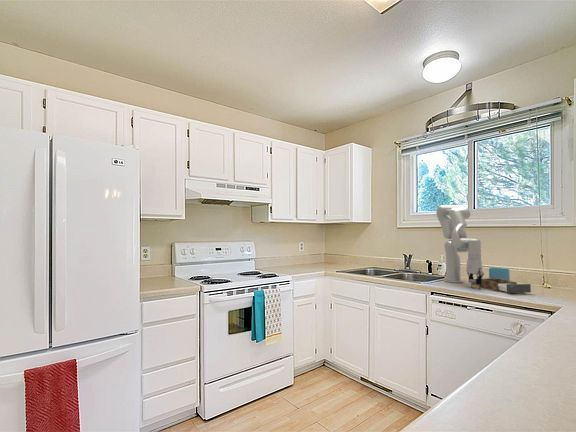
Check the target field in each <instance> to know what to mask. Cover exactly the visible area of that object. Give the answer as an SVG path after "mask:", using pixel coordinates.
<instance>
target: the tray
mask: <svg viewBox="0 0 576 432" xmlns="http://www.w3.org/2000/svg"><path fill="white" fill-rule="evenodd" d="M531 285H532V284H531V283H517V284H498V290H502V291H501V292H506V293H509V294H511V293H512V294H515V293H517V294H518V293H519V294H520V293H525V294H526V293H531V291H532V290H531V287H532V286H531Z"/></svg>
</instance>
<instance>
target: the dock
mask: <svg viewBox="0 0 576 432" xmlns="http://www.w3.org/2000/svg"><path fill="white" fill-rule="evenodd" d="M498 284H518V283H517V281H511V280H510V281H508V280H503V279H498V278H493V279H489V278H482V279H481V284H479V288H483V289H486V290H490V291H495V292H503V291H502V290H498Z"/></svg>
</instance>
